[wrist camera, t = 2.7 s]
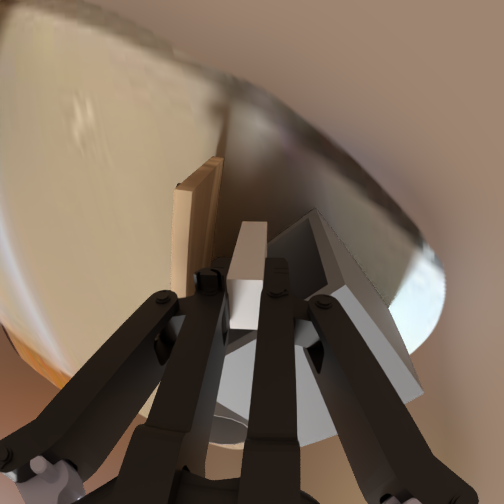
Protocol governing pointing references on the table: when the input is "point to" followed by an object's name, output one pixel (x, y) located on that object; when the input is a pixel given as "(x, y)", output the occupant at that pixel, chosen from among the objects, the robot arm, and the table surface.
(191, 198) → the wooden cabinet door
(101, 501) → the robot arm
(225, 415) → the cup
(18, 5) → the table surface
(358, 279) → the grey open box
